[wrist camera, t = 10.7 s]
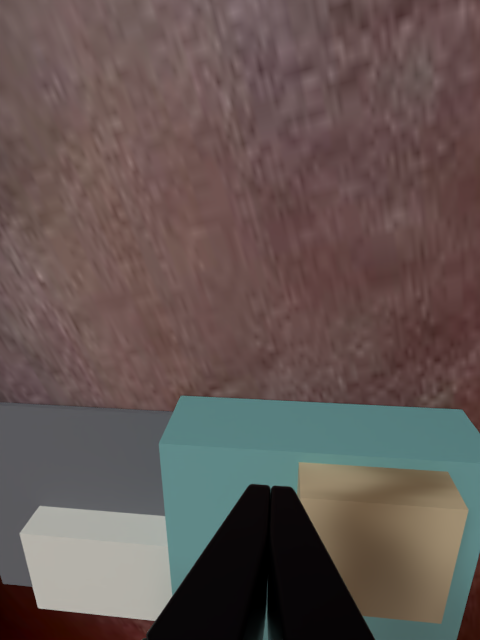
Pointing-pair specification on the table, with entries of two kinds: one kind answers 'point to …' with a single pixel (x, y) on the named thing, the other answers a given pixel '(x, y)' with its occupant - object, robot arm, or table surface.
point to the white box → (98, 562)
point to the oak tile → (388, 534)
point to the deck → (310, 447)
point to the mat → (74, 467)
